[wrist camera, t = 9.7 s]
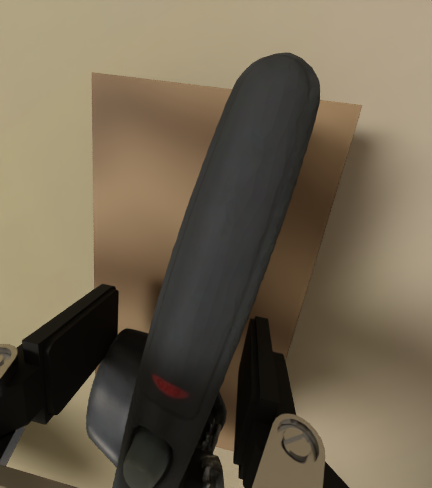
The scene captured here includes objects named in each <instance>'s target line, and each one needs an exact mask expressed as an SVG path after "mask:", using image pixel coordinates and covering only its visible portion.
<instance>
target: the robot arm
mask: <svg viewBox="0 0 432 488" xmlns="http://www.w3.org/2000/svg"><path fill="white" fill-rule="evenodd" d="M118 304H119V291H118V290H116V287H115V286H111V285H107V284H101V285H99V286H98V287H97V288H95V289H94V290H92V291H91V292H90V293H88V294H87V295H85V296H84V297H82V298H81V299H80V300H78V301H77V302H75V303H74V304H73V305H71V306H70V307H68V308H67V309H66V310H64V311H63V312H61V313H60V314H59V315H57V316H56V317H54V318H53V319H52V320H50V321H49V322H47V323H46V324H44V325H43V326H42V327H40V328H39V329H37V330H36V331H35V332H33V333H32V334H30V335H29V336H28V337H26V338H25V339H23V340H22V344H21V345H20V346H18V347H17V348H16V347H15V346H12V345H10V344H0V488H77V487H73V486H70V485H67V484H63V483H60V482H57V481H53V480H50V479H47V478H43V477H40V476H37V475H33V474H30V473H26V472H23V471H20V470H16V469H13V468H10V467H6V465H7V463H8V461H9V459H10V457H11V455H12V453H13V451H14V449H15V447H16V445H17V443H18V441H19V439H20V437H21V435H22V433H23V431H24V429H25V426H26V425H28V424H29V423H30V422H31V421H34V422H37V423H41V424H45V425H46V424H47V423H48V422H49V420H50V419H51V418H52V417H53V415H58V414H59V413H60V412H61V411H62V410H63V408H64V407H65V406H66V405H67V403H68V402H69V401H70V400H71V398H72V397H73V396H74V395H75V394H76V392H77V391H78V390H79V389H80V387H81V386H82V385H83V384H84V382H85V381H86V380H87V379H88V377H89V376H90V375H91V374H92V372H93V371H94V370H95V369H96V368H97V366H98V365H99V364H100V363H101V361H102V360H103V359H104V358H105V356H106V353H107V351H108V348H109V347H110V345H111V343H112V341H113V340H114V338H115V337H116V336H117V335H118ZM233 462H234V464H237V465H239V478H240V479H243V486H244V487H245V488H349V487H348V486H347V485H346V484H345V482H344V481H343V480H342V479H341V478H340V477H339V476H338V475H337V474H336V473H335V472H334V471H333V469H332V468H331V467H330V466H329V465H328V464H327V463H326V462H325V448H324V445H323V443H322V440H321V438H320V436H319V435H318V433H317V431H316V430H315V429H314V428H313V427H312V426H311V425H310V423H308V422H307V421H305V420H304V419H303V418H301V417H299V416H297V415H296V412H295V407H294V402H293V397H292V392H291V387H290V382H289V377H288V372H287V367H286V362H285V358H284V355H283V354H282V353H277V352H273V350H272V343H271V336H270V329H269V321H268V318H263V317H259V316H255V318H254V319H252V318H250V321H249V325H248V329H247V334H246V338H245V343H244V347H243V351H242V356H241V360H240V365H239V371H238V385H237V403H236V422H235V440H234V458H233Z"/></svg>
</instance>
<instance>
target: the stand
mask: <svg viewBox="0 0 432 488" xmlns="http://www.w3.org/2000/svg"><path fill="white" fill-rule="evenodd" d="M231 91H232V89H224V88H216V87H208V86H199V85H191V84H183V83H175V82H167V81H158V80H150V79H142V78H134V77H125V76H117V75H109V74H101V73H93V72H92V136H93V217H94V289H95V288H97V287H98V286H99V285H101V284H107V285H111V286H115V287H116V290H118V291H119V304H118V334H119V333H120V332H121V331H122V330H123V329H126V328H129V329H134V330H138V331H142V332H146V333H149V330H150V326H151V321H152V319H153V315H154V311H155V308H156V304H157V300H158V297H159V293H160V290H161V287H162V284H163V280H164V277H165V273H166V270H167V267H168V264H169V261H170V258H171V254H172V250H173V247H174V245H175V242H176V239H177V236H178V232H179V229H180V227H181V224H182V221H183V218H184V215H185V211H186V209H187V206H188V203H189V200H190V197H191V195H192V192H193V189H194V187H195V184H196V181H197V178H198V176H199V173H200V170H201V167H202V164H203V162H204V159H205V157H206V154H207V151H208V148H209V145H210V143H211V140H212V138H213V135H214V133H215V130H216V127H217V125H218V122H219V120H220V118H221V115H222V113H223V110H224V107H225V104H226V102H227V100H228V98H229V96H230V93H231ZM361 108H362V105H356V104H348V103H339V102H331V101H323V100H320V104H319V108H318V112H317V116H316V121H315V123H314V127H313V131H312V134H311V137H310V140H309V143H308V147H307V151H306V153H305V156H304V158H303V164H302V167H301V169H300V173H299V176H298V179H297V184H296V186H295V189H294V191H293V194H292V199H291V201H290V204H289V207H288V210H287V213H286V216H285V219H284V221H283V224H282V227H281V231H280V234H279V236H278V238H277V241H276V245H275V247H274V251H273V253H272V254H271V258H270V261H269V264H268V267H267V270H266V272H265V274H264V279H263V280H262V282H261V284H260V287H259V291H258V294H257V297H256V300H255V303H254V305H253V306H252V309H251V312H250V315H249V318H248V320H247V323H246V325H245V328H244V331H243V333H242V335H241V338H240V341H239V344H238V346H237V348H236V350H235V353H234V355H233V357H232V360H231V362H230V365H229V368H228V370H227V373H226V375H225V378H224V382H223V384H222V386H221V388H220V390H219V392H220V394H221V397H222V399H223V401H224V404H225V407H226V410H227V415H226V422H225V424H224V426H223V428H222V430H221V432H220V434H219V437H218V442H217V445H216V446H215V447H219V448H223V449H227V450H230V451H234V440H235V422H236V403H237V385H238V371H239V365H240V360H241V356H242V351H243V347H244V343H245V338H246V334H247V329H248V325H249V321H250V318H252V319H254V318H255V316H259V317H263V318H268V321H269V329H270V336H271V343H272V350H273V352H277V353H282V354H283V355H284V358H285V360H286V357H287V354H288V350H289V347H290V344H291V340H292V337H293V334H294V330H295V327H296V324H297V321H298V317H299V314H300V311H301V307H302V304H303V301H304V297H305V294H306V291H307V287H308V284H309V281H310V277H311V274H312V271H313V267H314V264H315V261H316V257H317V254H318V251H319V248H320V244H321V241H322V238H323V234H324V231H325V228H326V224H327V221H328V218H329V214H330V211H331V208H332V204H333V201H334V198H335V194H336V191H337V188H338V184H339V181H340V178H341V174H342V171H343V168H344V165H345V161H346V158H347V155H348V151H349V148H350V145H351V141H352V138H353V135H354V131H355V128H356V125H357V121H358V118H359V115H360V111H361ZM99 365H100V364H99ZM99 365H98V366H97V368H96V369H95V376H96V373H97V370H98V367H99Z"/></svg>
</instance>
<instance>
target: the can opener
mask: <svg viewBox="0 0 432 488" xmlns="http://www.w3.org/2000/svg"><path fill="white" fill-rule="evenodd" d="M319 104H320V84H319V80H318V78H317V76H316V74H315V72H314V70H313V68H312V67H311V66H310V65H309V64H307V63H306V62H305V61H304V60H303V59H302V58H300V57H298V56H296V55H294V54H291V53H278V54H273V55H270V56H267V57H264V58H261V59H259V60H257V61H256V62H254V63H252V64H251V65H250V66H249V67H248V68H247V69H246V70H245V71H244V72H243V73H242V75H241V76H240V77H239V78H238V79H237V81H236V83H235V85H234V87H233V89H232V91H231V93H230V96H229V98H228V100H227V102H226V104H225V107H224V110H223V113H222V115H221V118H220V120H219V122H218V125H217V127H216V130H215V133H214V135H213V138H212V140H211V143H210V145H209V148H208V151H207V154H206V157H205V159H204V162H203V164H202V167H201V170H200V173H199V176H198V178H197V181H196V184H195V187H194V189H193V192H192V195H191V197H190V200H189V203H188V206H187V209H186V211H185V215H184V218H183V221H182V224H181V227H180V229H179V232H178V236H177V239H176V242H175V245H174V247H173V250H172V254H171V258H170V261H169V264H168V267H167V270H166V273H165V277H164V280H163V284H162V287H161V290H160V293H159V297H158V300H157V304H156V308H155V311H154V315H153V319H152V321H151V326H150V330H149V333H146V332H142V331H138V330H134V329H129V328H126V329H123V330H122V331H121V332H120V333H119V334H118V335H117V336H116V337H115V338H114V340H113V341H112V343H111V345H110V347H109V348H108V351H107V353H106V356H105V358H104V359H103V360H102V361H101V363H100V365H99V367H98V370H97V373H96V376H95V379H94V381H93V385H92V388H91V392H90V397H89V400H88V406H87V415H86V429H87V433H88V436H89V438H90V439H91V440H92V441H93V442H94V444H95V445H96V446H97V447H98V448H99V449H100V450H101V451H102V452H103V453H104V454H105V455H106V457H107V458H108V459H109V460H110V461H111V462H112V463H113V464H114V465H115V466H116V467H117V469H116V473H115V479H114V482H113V487H112V488H224V479H223V470H222V465H221V463H220V460H219V457H218V456H215V455H213V451H214V449H215V446H216V445H217V442H218V437H219V434H220V432H221V430H222V428H223V426H224V424H225V422H226V415H227V410H226V407H225V404H224V401H223V399H222V397H221V394H220V392H219V390H220V388H221V386H222V384H223V382H224V378H225V375H226V373H227V370H228V368H229V365H230V362H231V360H232V357H233V355H234V353H235V350H236V348H237V346H238V344H239V341H240V338H241V335H242V333H243V331H244V328H245V325H246V323H247V320H248V318H249V315H250V312H251V309H252V306H253V305H254V303H255V300H256V297H257V294H258V291H259V287H260V284H261V282H262V280H263V279H264V274H265V272H266V270H267V267H268V264H269V261H270V258H271V254H272V253H273V251H274V247H275V245H276V241H277V238H278V236H279V234H280V231H281V227H282V224H283V221H284V219H285V216H286V213H287V210H288V207H289V204H290V201H291V199H292V194H293V191H294V189H295V186H296V184H297V179H298V176H299V173H300V169H301V167H302V164H303V158H304V156H305V153H306V151H307V147H308V143H309V140H310V137H311V134H312V131H313V127H314V123H315V121H316V116H317V112H318V108H319Z"/></svg>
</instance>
